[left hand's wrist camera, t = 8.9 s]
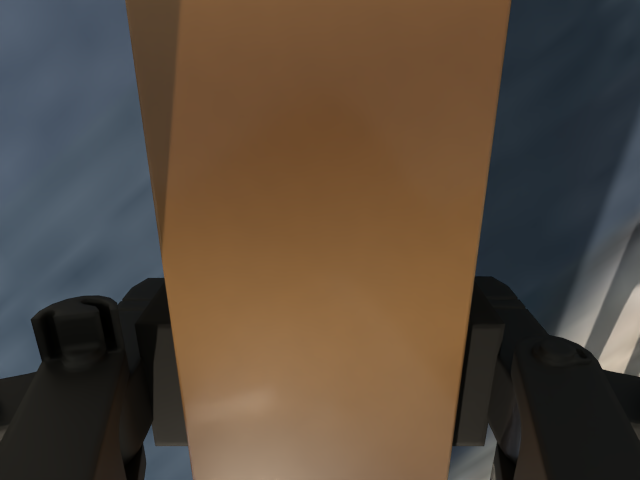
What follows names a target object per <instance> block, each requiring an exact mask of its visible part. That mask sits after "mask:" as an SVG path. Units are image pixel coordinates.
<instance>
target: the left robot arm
mask: <svg viewBox="0 0 640 480" xmlns="http://www.w3.org/2000/svg"><path fill="white" fill-rule="evenodd" d="M31 322H32V326H33V330H34V334H35V337H36V341H37V345H38V348H39V352H40V356H41V359H42V363H41V365H40V367H39V369H38V370H37V372H33V373H29V374H24V375H19V376H14V377H9V378H3V379H0V480H144V477H145V469H146V457H145V451H144V446H143V441H144V439H145V437H146V435H147V433H148V431H149V428H150V426H151V424H152V429H153V434H154V440H155V446H188V441H187V433H186V426H185V419H184V412H183V405H182V398H181V391H180V384H179V377H178V370H177V363H176V356H175V349H174V342H173V334H172V327H171V320H170V313H169V306H168V299H167V292H166V285H165V278H147V279H146V280H144V281H142V282H141V283H139V284H137V285H136V286H134V287H132V288H131V289H130V291H129V292H128V293H127V294H126V295H125V297H124V298H123V299H122V301H120V303H119V304H118V305H117V302H115V301H114V300H112V299H111V298H109V297H104V296H99V295H98V296H80V297H75V298H70V299H66V300H63V301H60V302H57V303H54V304H52V305H50V306H48V307H46V308H44V309H42V310H41V311H39V312H38V313H37V314H36V315H35V316H34V317H33V318H32V319H31ZM488 423H489V425H490V427H491V429H492V431H493V433H494V435H495V438H496V440H497V446H496V451H495V456H494V462H493V467H492V473H491V478H490V480H640V377H637V376H632V375H627V374H621V373H616V372H611V371H607V370H603V369H602V368H601V366H600V364H599V362H598V360H597V359H596V358H595V357H594V356H593V355H592V353H591V352H589V351H588V350H586V349H585V348H583V347H582V346H580V345H579V344H577V343H574V342H572V341H569V340H567V339H564V338H561V337H556V336H552V335H549V334H548V333H547V332H546V331H545V330H544V329H543V327H542V326H541V325H540V324H539V323H538V321H537V320H536V319H535V318H534V317H533V315H532V314H531V313H530V312H529V311H528V309H525V306H524V305H523V303H522V302H521V301H520V300H518V299H517V296H516V295H515V294H514V293H513V292H512V290H511V289H510V288H509V287H508V286H507V285H505V284H503V283H502V282H500V281H498V280H497V279H495V278H493V277H475V278H474V285H473V293H472V300H471V308H470V315H469V323H468V331H467V338H466V346H465V353H464V361H463V368H462V376H461V383H460V391H459V398H458V406H457V413H456V421H455V428H454V436H453V443H452V446H484V444H485V438H486V432H487V426H488Z"/></svg>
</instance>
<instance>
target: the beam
mask: <svg viewBox="0 0 640 480" xmlns="http://www.w3.org/2000/svg"><path fill="white" fill-rule="evenodd" d="M125 2H126V9H127V16H128V23H129V30H130V37H131V44H132V52H133V59H134V66H135V73H136V80H137V87H138V94H139V101H140V108H141V115H142V122H143V129H144V136H145V143H146V151H147V158H148V165H149V172H150V179H151V186H152V193H153V200H154V207H155V214H156V221H157V228H158V235H159V243H160V250H161V257H162V264H163V271H164V278H165V285H166V292H167V299H168V306H169V313H170V320H171V327H172V334H173V342H174V349H175V356H176V363H177V370H178V377H179V384H180V391H181V398H182V405H183V412H184V419H185V426H186V433H187V441H188V448H189V455H190V462H191V469H192V476H193V480H448V473H449V466H450V458H451V451H452V443H453V436H454V428H455V421H456V413H457V406H458V398H459V391H460V383H461V376H462V368H463V361H464V353H465V346H466V338H467V331H468V323H469V315H470V308H471V300H472V293H473V285H474V278H475V270H476V263H477V255H478V248H479V240H480V233H481V225H482V218H483V210H484V203H485V195H486V188H487V180H488V173H489V165H490V158H491V150H492V143H493V135H494V128H495V120H496V113H497V105H498V98H499V90H500V83H501V75H502V68H503V60H504V53H505V45H506V38H507V30H508V23H509V15H510V8H511V0H125Z"/></svg>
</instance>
